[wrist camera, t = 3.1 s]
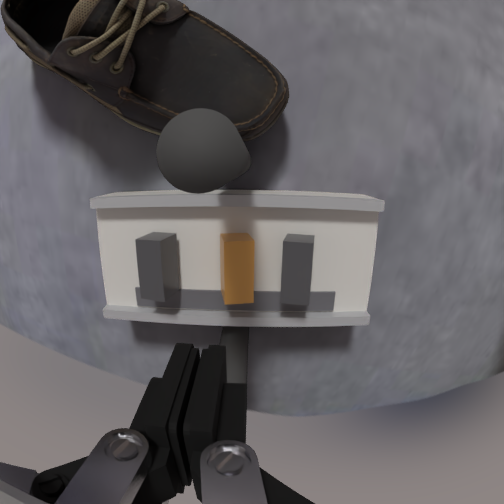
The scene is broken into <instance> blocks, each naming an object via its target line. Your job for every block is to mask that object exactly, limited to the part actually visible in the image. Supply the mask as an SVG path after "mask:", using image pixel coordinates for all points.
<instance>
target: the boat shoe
mask: <svg viewBox="0 0 504 504" xmlns="http://www.w3.org/2000/svg"><path fill="white" fill-rule="evenodd" d="M1 15H2V18H3V21H4V24H5V30H6V32H7V33H8V35H9V36H10V37H11V38H12V39H13V40H14V41H15V42H16V44H17V46H18V47H19V48H20V49H21V50H22V51H23V52H25V54H26V55H27V56H28V57H29V58H30V59H31V60H32V61H33V62H35V63H36V64H38V65H40V66H42V67H44V68H46V69H49V70H51V71H53V72H55V73H57V74H59V75H61V76H62V77H64V78H65V79H67V80H68V81H70V82H71V83H73V84H75V85H76V86H77V87H79V88H80V89H82V90H83V91H85V92H86V93H87V94H89V95H90V96H91V97H93V98H94V99H95V100H97V101H98V102H99V103H101V104H102V105H104V106H105V107H107V108H108V109H109V110H111V111H112V112H113V113H115V114H116V115H117V116H119V117H120V118H122V119H123V120H125V121H126V122H128V123H130V124H131V125H133V126H135V127H138V128H140V129H142V130H144V131H147V132H150V133H153V134H156V135H160V134H161V132H162V130H163V129H164V127H165V126H166V125H167V124H168V122H169V121H170V120H172V119H173V118H174V117H175V116H177V115H178V114H180V113H182V112H184V111H187V110H191V109H197V108H205V109H211V110H214V111H217V112H219V113H221V114H223V115H224V116H226V117H227V118H228V119H229V120H230V121H231V122H232V123H233V124H234V125H235V127H236V128H237V130H238V132H239V134H240V136H241V138H242V140H243V142H244V141H249V140H252V139H255V138H257V137H258V136H260V135H262V134H263V133H265V132H266V131H267V130H269V129H270V128H271V127H272V126H273V125H274V123H275V122H276V121H277V120H278V118H279V117H280V115H281V114H282V112H283V111H284V109H285V107H286V105H287V103H288V98H289V88H288V83H287V81H286V79H285V78H284V76H283V75H282V74H281V73H280V72H279V70H278V69H277V68H276V67H275V66H273V65H272V64H271V63H270V62H269V61H268V60H267V59H266V58H265V57H263V56H262V55H261V54H259V53H258V52H257V51H255V50H254V49H252V48H251V47H250V46H248V45H247V44H245V43H244V42H243V41H241V40H240V39H238V38H237V37H235V36H234V35H233V34H231V33H229V32H228V31H226V30H225V29H223V28H222V27H220V26H218V25H217V24H215V23H213V22H212V21H210V20H209V19H207V18H205V17H204V16H202V15H200V14H198V13H196V12H194V11H191V10H189V8H188V7H187V6H186V5H185V4H183V3H181V2H179V1H177V0H3V3H2V5H1Z"/></svg>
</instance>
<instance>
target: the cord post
mask: <svg viewBox="0 0 504 504" xmlns="http://www.w3.org/2000/svg"><path fill="white" fill-rule="evenodd" d="M248 338H249V327H246V326H223V330H222V335H221V340H220V345H225V346H226V365H227V383H247V362H248Z"/></svg>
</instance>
